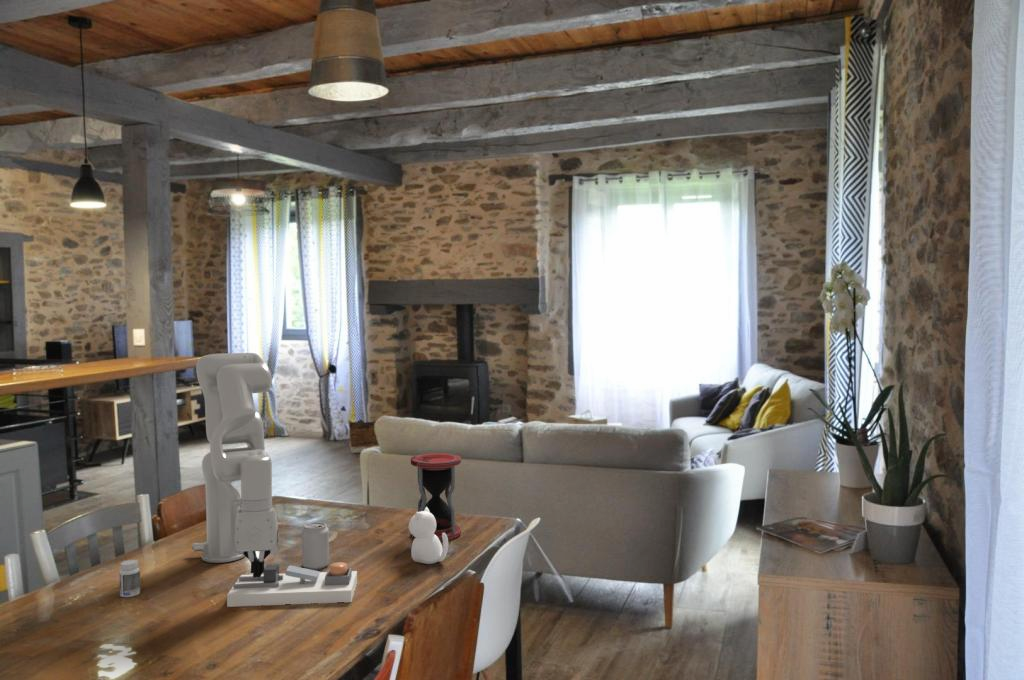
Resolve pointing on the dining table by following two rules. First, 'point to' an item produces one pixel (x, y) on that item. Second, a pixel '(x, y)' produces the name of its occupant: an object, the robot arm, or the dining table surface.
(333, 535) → the jawbone
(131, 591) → the pill bottle
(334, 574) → the button
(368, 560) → the dining table surface
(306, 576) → the slate rocker
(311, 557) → the can
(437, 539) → the cat figurine
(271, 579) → the slider
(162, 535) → the dining table surface
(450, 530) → the hourglass
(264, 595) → the panel
